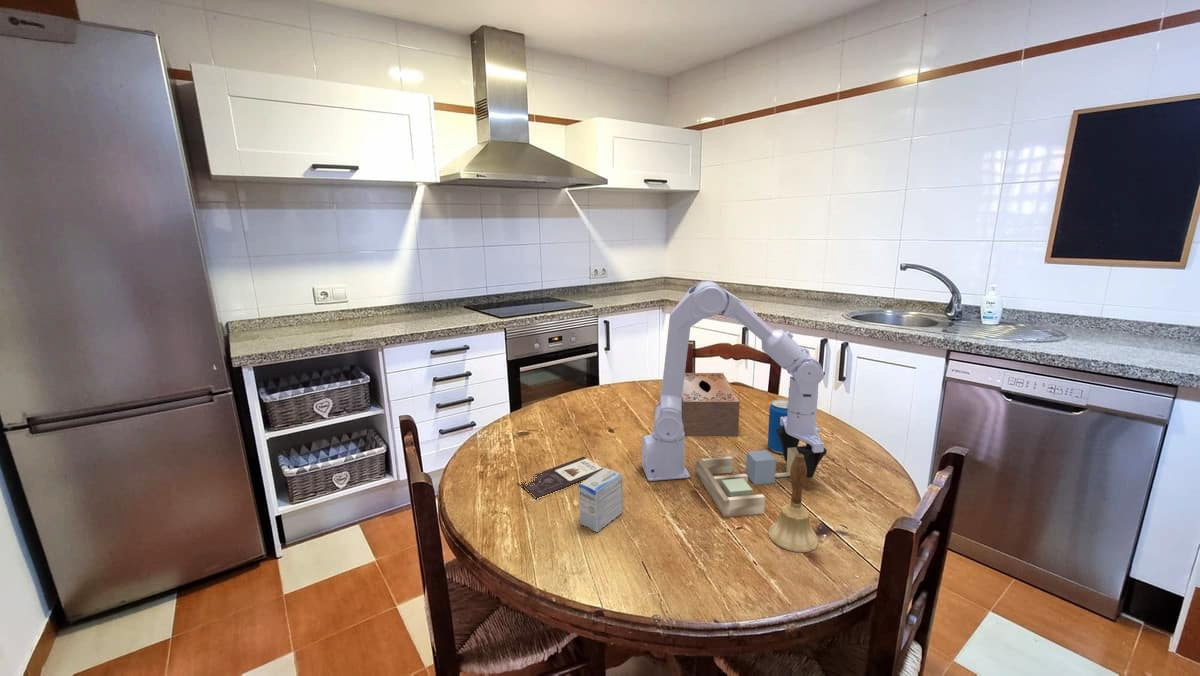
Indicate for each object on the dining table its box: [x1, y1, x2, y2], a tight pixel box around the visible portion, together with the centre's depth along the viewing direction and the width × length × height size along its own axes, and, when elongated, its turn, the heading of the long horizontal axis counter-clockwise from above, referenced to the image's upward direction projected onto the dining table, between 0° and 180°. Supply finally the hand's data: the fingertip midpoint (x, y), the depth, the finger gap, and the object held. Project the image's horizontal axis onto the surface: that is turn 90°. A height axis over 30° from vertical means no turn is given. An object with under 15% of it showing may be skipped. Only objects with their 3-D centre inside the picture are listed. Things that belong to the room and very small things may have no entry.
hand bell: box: [767, 453, 820, 554], centre depth 81 cm, size 8×8×16 cm
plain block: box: [722, 478, 753, 497], centre depth 94 cm, size 4×4×4 cm
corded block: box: [745, 447, 798, 486], centre depth 103 cm, size 12×4×6 cm, turn 96°
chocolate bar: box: [521, 456, 604, 498], centre depth 106 cm, size 9×1×18 cm
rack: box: [696, 456, 766, 518], centre depth 98 cm, size 8×17×4 cm, turn 6°
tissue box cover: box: [681, 372, 741, 438], centre depth 136 cm, size 26×14×10 cm, turn 175°
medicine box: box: [578, 467, 624, 533], centre depth 89 cm, size 8×4×9 cm, turn 141°
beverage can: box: [767, 399, 788, 455], centre depth 115 cm, size 6×6×12 cm
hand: (798, 468), depth 103 cm, fingers open, 7 cm apart
